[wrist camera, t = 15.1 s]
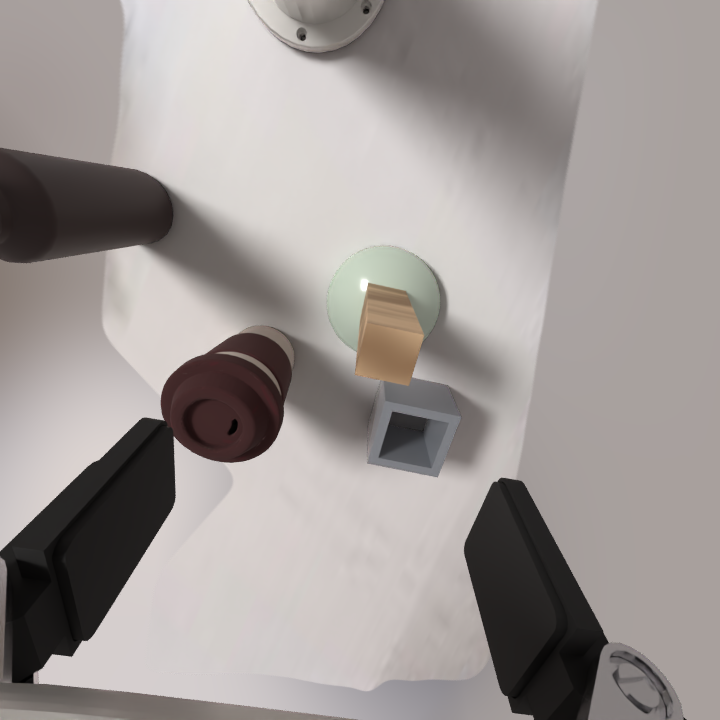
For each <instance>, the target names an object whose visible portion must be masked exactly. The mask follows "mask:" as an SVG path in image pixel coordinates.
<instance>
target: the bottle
mask: <svg viewBox="0 0 720 720" xmlns="http://www.w3.org/2000/svg"><path fill="white" fill-rule="evenodd" d="M172 219H173V211H172V204H171V201H170V199H169V197H168V195H167V192H166V191H165V190H164V188H163V187H162V186H161V185H160V183H159V182H158V181H156V180H155V179H154V178H152V177H151V176H150V175H148V174H146V173H144V172H141V171H138V170H135V169H129V168H123V167H116V166H110V165H103V164H98V163H91V162H85V161H78V160H73V159H66V158H60V157H54V156H47V155H42V154H35V153H29V152H23V151H17V150H10V149H4V148H0V259H1V260H4V261H7V262H15V263H31V262H37V261H44V260H50V259H56V258H63V257H68V256H75V255H80V254H87V253H93V252H99V251H105V250H112V249H118V248H124V247H130V246H136V245H142V244H148V243H152V242H155V241H159V240H160V239H161V238H162V237H164V236H165V235H166V234H167V233H168V231H169V229H170V227H171V225H172Z"/></svg>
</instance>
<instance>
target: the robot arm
mask: <svg viewBox="0 0 720 720" xmlns="http://www.w3.org/2000/svg"><path fill="white" fill-rule="evenodd" d="M248 2H249V4H250V6H251V7H252V9H253V11H254V12H255V14H256V15H257V17H258V18H259V19H260V21H261V22H262V23H263V24H264V26H265V27H266V28H267V29H268V30H269V31H270V32H271V33H272V34H274V35H275V36H276V37H277V38H278V39H279V40H281V41H283V42H284V43H286V44H288V45H289V46H291V47H294V48H297V49H300V50H303V51H306V52H317V53H321V52H327V51H334V50H336V49H339V48H341V47H344V46H346V45H348V44H349V43H351V42H352V41H354V40H355V39H356V38H358V37H359V36H360V35H361V34H362V33H363V32H364V31H365V30H366V29H367V28H368V27H369V26H370V25H371V23H372V22H373V20H374V19H375V17H376V16H377V14H378V13H379V11H380V9H381V7H382V5H383V3H384V0H248ZM365 9H368V10H369V13H368V14H364V13H363V11H364V10H365ZM303 35H305V36H306V39H305V40H304V41H301V36H303ZM175 496H176V495H175V466H174V439H173V429H172V428H171V427H168V424H167V422H166V421H163V420H157V419H151V418H142V419H141V420H139V421H138V422H137V423H136V424H135V425H134V426H133V427H132V428H131V429H130V430H129V431H128V432H127V433H126V434H125V435H124V436H123V437H122V438H121V439H120V440H119V441H118V442H117V443H116V444H115V445H114V446H113V447H112V448H111V449H110V450H109V451H108V452H107V453H106V454H105V455H104V456H103V457H102V458H101V459H100V460H99V461H96V462H94V463H92V464H91V465H89V466H88V467H87V468H86V469H85V470H84V471H83V472H82V473H81V474H80V475H79V476H78V477H77V478H75V479H74V480H73V481H72V482H71V483H70V484H69V485H68V486H67V487H66V488H65V489H64V490H63V491H62V492H61V493H60V494H59V495H58V496H57V497H56V498H55V499H54V500H53V501H52V502H51V503H50V504H49V505H48V506H47V507H46V508H45V509H44V510H43V511H41V513H39V515H37V516H36V517H35V518H34V519H33V520H32V521H31V522H30V523H29V524H28V525H27V526H26V527H25V528H24V529H23V530H22V531H21V532H20V533H19V534H18V535H17V536H16V537H15V538H14V539H13V540H12V541H11V542H10V543H8V544H7V545H6V546H5V547H4V548H3V549H2V550H1V551H0V720H356V719H348V718H340V717H332V716H323V715H315V714H308V713H298V712H291V711H283V710H274V709H266V708H258V707H250V706H242V705H234V704H224V703H216V702H208V701H199V700H190V699H182V698H174V697H165V696H157V695H148V694H140V693H130V692H122V691H111V690H101V689H91V688H79V687H70V686H69V687H68V686H59V685H49V684H39V679H38V678H39V677H38V671H39V670H40V669H42V668H43V667H44V665H45V664H46V662H47V661H48V659H49V658H50V656H51V655H52V654H55V655H63V656H71V657H72V656H73V654H74V653H75V651H76V649H77V648H78V646H79V645H80V643H81V642H82V641H87V640H89V639H90V638H91V637H92V636H93V635H94V633H95V632H96V630H97V628H98V627H99V625H100V624H101V622H102V621H103V619H104V617H105V616H106V614H107V612H108V611H109V609H110V608H111V606H112V605H113V603H114V601H115V600H116V598H117V597H118V595H119V593H120V592H121V590H122V588H123V587H124V585H125V584H126V582H127V581H128V579H129V577H130V576H131V574H132V572H133V571H134V569H135V568H136V566H137V565H138V563H139V561H140V560H141V558H142V557H143V555H144V553H145V552H146V550H147V548H148V547H149V545H150V544H151V542H152V540H153V539H154V537H155V536H156V534H157V532H158V531H159V529H160V528H161V526H162V524H163V523H164V521H165V520H166V518H167V516H168V515H169V513H170V512H171V510H172V508H173V506H174V502H175ZM464 554H465V558H466V562H467V566H468V570H469V574H470V577H471V581H472V585H473V589H474V592H475V596H476V600H477V604H478V607H479V611H480V615H481V619H482V622H483V626H484V630H485V634H486V638H487V641H488V645H489V649H490V653H491V656H492V660H493V664H494V667H495V671H496V675H497V679H498V683H499V686H500V689H501V691H502V693H503V694H504V695H505V696H508V699H509V703H510V707H511V710H512V713H518V714H526V715H533V717H534V720H686V719H685V718H684V717H683V712H682V707H681V703H680V701H679V699H678V696H677V694H676V692H675V690H674V689H673V687H672V686H671V684H670V683H669V681H668V680H667V678H666V677H665V676H664V675H663V673H662V672H661V671H660V670H659V669H658V668H657V667H656V666H655V664H653V663H652V662H651V661H650V660H649V659H648V658H646V657H645V656H644V655H643V654H641V653H640V652H638V651H637V650H635V649H633V648H632V647H630V646H627V645H624V644H622V643H609V642H608V641H607V639H606V637H605V635H604V633H603V630H602V628H601V626H600V624H599V622H598V620H597V619H596V617H595V615H594V613H593V611H592V609H591V607H590V605H589V604H588V602H587V600H586V598H585V596H584V595H583V593H582V591H581V589H580V587H579V585H578V583H577V581H576V579H575V578H574V576H573V574H572V572H571V570H570V568H569V566H568V564H567V563H566V561H565V559H564V557H563V555H562V553H561V551H560V550H559V548H558V546H557V544H556V542H555V540H554V538H553V537H552V535H551V533H550V531H549V529H548V527H547V525H546V524H545V522H544V520H543V518H542V516H541V514H540V512H539V510H538V509H537V507H536V505H535V503H534V501H533V499H532V498H531V496H530V494H529V492H528V490H527V488H526V486H525V485H524V483H523V482H522V481H519V480H513V479H507V478H500V479H499V480H498V482H493V484H492V485H491V487H490V490H489V492H488V494H487V496H486V498H485V500H484V503H483V505H482V507H481V509H480V511H479V513H478V516H477V518H476V520H475V522H474V524H473V526H472V529H471V531H470V533H469V535H468V537H467V539H466V542H465V546H464Z"/></svg>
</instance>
